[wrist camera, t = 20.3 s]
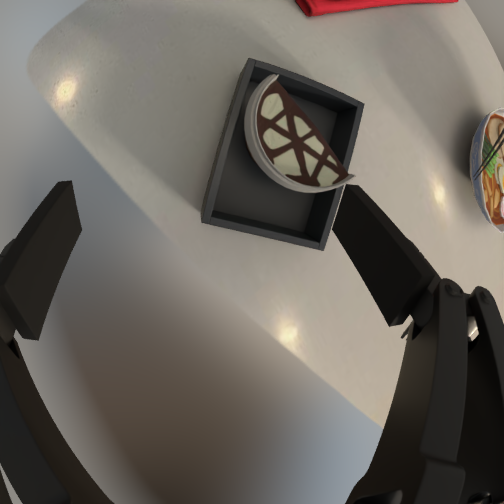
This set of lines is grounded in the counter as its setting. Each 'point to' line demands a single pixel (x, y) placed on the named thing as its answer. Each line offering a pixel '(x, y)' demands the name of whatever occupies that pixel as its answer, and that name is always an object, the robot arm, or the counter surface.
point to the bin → (259, 183)
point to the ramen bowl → (489, 167)
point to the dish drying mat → (352, 5)
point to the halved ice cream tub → (289, 142)
